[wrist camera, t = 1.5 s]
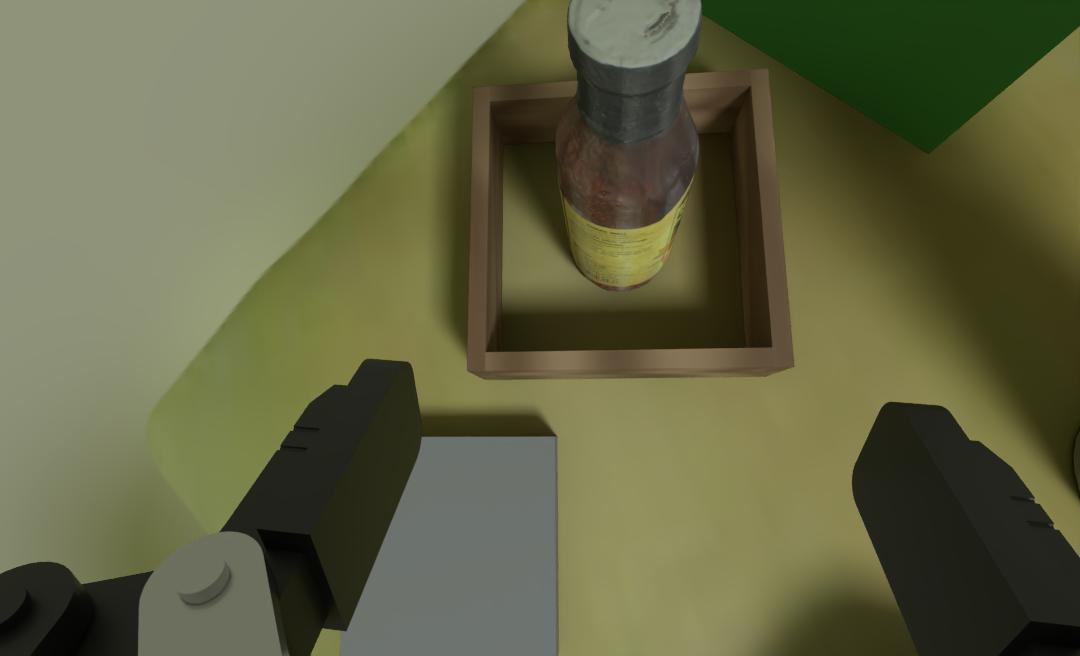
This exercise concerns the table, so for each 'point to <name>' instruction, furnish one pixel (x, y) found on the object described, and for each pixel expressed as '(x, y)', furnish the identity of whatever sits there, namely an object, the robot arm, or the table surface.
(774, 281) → the brown wooden tray
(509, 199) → the table surface
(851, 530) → the table surface
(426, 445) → the slate tile
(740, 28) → the hardback book
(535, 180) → the table surface
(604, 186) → the sauce bottle
